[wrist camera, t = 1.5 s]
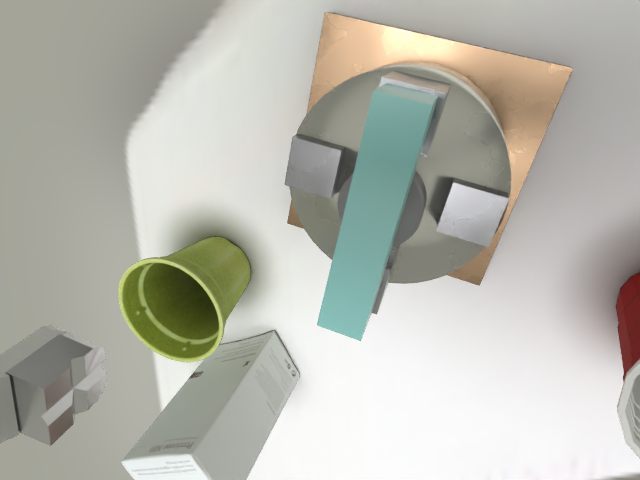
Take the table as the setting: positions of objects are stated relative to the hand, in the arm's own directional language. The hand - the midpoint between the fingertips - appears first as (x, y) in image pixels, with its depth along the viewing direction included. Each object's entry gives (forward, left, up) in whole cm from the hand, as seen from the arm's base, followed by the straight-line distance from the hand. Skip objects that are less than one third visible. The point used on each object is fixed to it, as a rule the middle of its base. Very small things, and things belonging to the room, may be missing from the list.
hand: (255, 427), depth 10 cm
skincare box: (+9, +25, -27) cm, 38 cm away
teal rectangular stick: (0, 0, -17) cm, 17 cm away
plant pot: (+14, +15, -27) cm, 34 cm away
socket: (0, 0, -27) cm, 27 cm away
